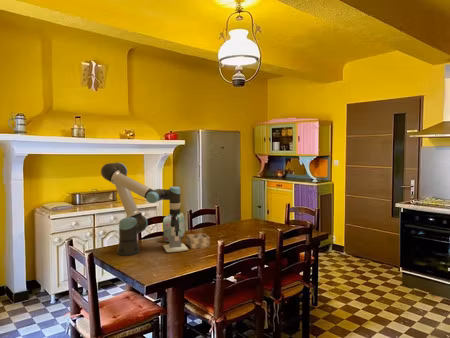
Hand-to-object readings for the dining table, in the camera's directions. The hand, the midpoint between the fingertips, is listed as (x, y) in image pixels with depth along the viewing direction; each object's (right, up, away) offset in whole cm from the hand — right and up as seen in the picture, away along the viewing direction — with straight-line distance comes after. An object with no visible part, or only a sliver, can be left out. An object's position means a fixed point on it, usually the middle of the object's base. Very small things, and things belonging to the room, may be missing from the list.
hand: (174, 238), depth 249 cm
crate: (+16, -8, +11) cm, 21 cm away
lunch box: (-4, -7, +28) cm, 30 cm away
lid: (0, -8, 0) cm, 8 cm away
